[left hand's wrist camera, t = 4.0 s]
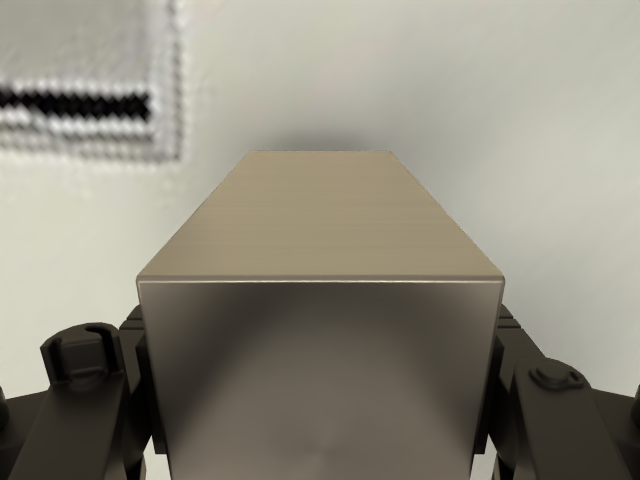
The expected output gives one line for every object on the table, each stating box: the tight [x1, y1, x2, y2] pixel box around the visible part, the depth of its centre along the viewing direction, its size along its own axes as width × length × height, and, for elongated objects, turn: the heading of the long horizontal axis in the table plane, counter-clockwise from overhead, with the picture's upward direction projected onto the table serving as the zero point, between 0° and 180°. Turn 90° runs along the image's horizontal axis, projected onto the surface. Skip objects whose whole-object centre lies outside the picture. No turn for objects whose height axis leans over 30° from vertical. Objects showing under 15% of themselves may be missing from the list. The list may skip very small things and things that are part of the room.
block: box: [136, 151, 505, 480], centre depth 12 cm, size 7×6×11 cm
